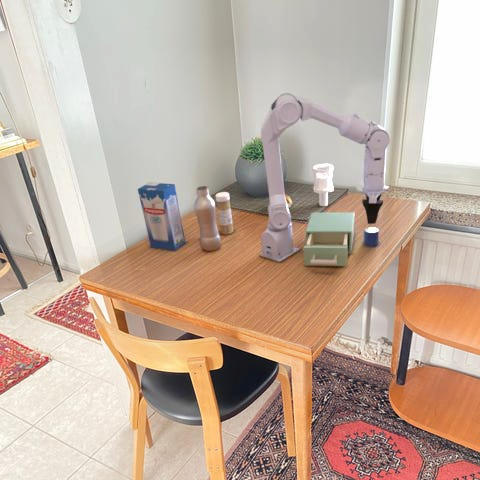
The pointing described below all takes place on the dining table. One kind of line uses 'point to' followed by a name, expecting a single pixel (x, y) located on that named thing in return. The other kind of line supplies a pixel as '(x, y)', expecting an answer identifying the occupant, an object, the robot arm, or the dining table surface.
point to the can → (371, 236)
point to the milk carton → (162, 215)
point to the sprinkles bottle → (224, 212)
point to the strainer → (323, 182)
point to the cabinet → (332, 224)
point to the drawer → (326, 249)
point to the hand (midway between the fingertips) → (372, 217)
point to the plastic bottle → (206, 219)
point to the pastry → (288, 200)
